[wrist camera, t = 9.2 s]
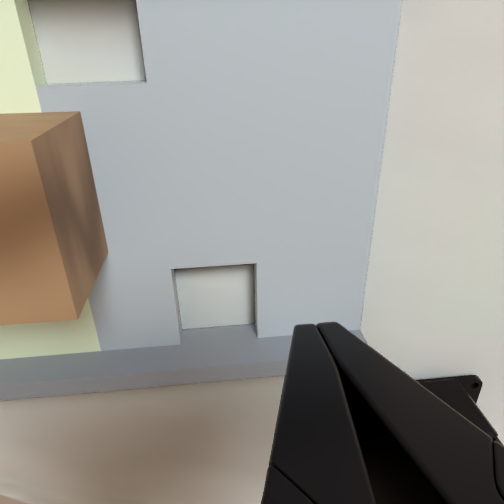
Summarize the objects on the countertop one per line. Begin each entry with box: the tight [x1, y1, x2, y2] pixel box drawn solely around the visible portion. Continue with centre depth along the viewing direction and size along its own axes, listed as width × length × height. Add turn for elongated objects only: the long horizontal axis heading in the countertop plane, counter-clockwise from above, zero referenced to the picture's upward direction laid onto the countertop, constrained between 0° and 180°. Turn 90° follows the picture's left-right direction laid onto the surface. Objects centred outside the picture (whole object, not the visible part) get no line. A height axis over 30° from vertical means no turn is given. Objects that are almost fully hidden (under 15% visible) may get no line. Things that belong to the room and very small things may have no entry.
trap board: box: [0, 0, 403, 401], centre depth 17 cm, size 22×19×3 cm
